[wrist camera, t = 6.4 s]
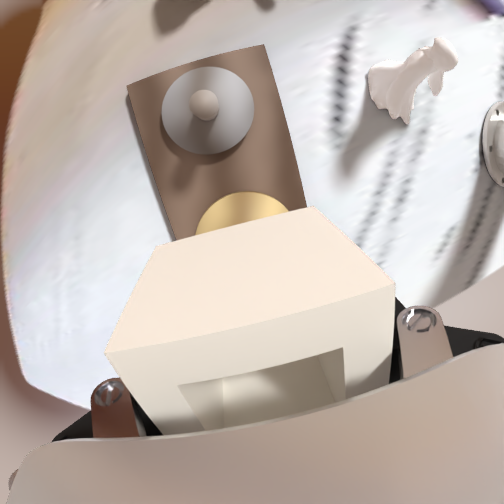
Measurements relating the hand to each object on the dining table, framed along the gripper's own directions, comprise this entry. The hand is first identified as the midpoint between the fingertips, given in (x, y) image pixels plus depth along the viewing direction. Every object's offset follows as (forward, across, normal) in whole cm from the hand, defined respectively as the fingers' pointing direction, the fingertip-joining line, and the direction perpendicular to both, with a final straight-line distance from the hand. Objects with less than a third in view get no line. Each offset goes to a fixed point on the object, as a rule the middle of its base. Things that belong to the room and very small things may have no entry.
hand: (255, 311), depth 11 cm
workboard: (+19, 0, -1) cm, 20 cm away
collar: (+1, 0, 0) cm, 1 cm away
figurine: (+20, -19, -8) cm, 28 cm away
